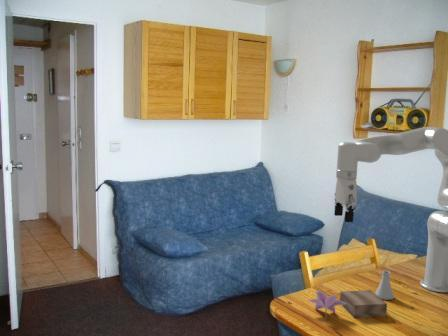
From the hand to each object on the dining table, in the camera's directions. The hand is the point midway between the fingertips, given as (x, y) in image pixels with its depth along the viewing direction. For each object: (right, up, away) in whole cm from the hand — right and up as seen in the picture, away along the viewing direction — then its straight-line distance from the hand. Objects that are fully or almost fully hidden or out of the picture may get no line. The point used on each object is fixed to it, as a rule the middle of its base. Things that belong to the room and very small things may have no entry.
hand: (343, 218), depth 181 cm
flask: (+16, -31, +1) cm, 35 cm away
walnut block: (+4, -32, -11) cm, 34 cm away
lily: (-10, -32, -17) cm, 38 cm away
